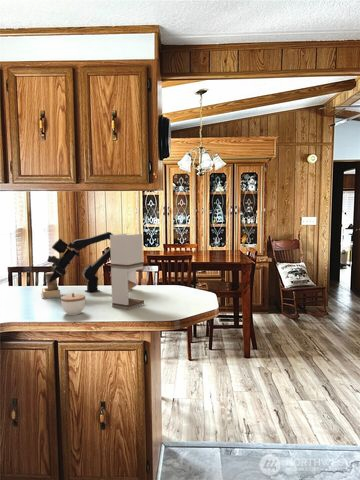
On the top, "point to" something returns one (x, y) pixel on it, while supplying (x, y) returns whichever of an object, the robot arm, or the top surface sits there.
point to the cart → (52, 284)
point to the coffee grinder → (125, 268)
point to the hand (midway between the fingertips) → (49, 281)
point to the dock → (50, 293)
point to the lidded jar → (73, 303)
